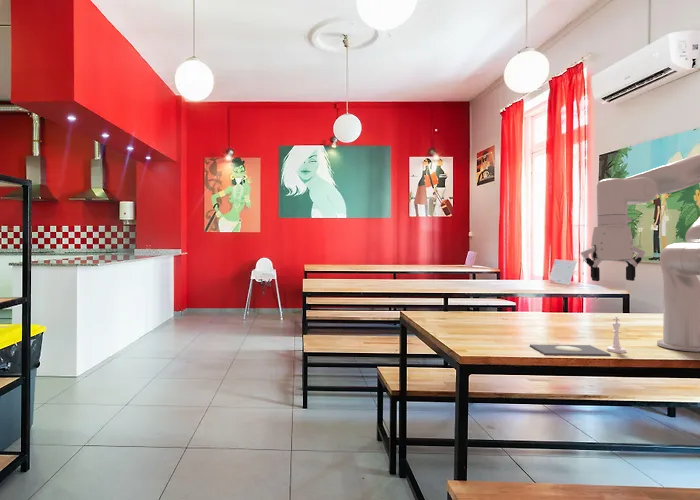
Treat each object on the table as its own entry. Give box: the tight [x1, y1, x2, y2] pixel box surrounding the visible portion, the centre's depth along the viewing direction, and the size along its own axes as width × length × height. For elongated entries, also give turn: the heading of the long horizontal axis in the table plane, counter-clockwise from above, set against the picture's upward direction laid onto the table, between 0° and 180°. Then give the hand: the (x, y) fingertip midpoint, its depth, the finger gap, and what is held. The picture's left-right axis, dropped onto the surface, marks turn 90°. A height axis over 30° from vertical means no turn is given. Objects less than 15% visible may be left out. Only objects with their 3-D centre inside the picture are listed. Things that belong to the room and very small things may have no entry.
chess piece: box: [606, 316, 627, 354], centre depth 127 cm, size 5×5×10 cm
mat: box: [529, 343, 611, 357], centre depth 127 cm, size 18×11×1 cm, turn 88°
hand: (612, 280), depth 127 cm, fingers open, 9 cm apart
